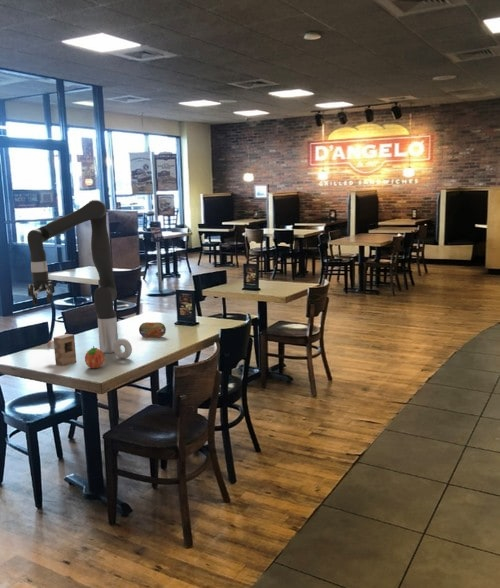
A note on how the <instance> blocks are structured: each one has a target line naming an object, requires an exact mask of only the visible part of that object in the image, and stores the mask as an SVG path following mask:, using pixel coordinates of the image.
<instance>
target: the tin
mask: <svg viewBox="0 0 500 588" xmlns="http://www.w3.org/2000/svg"><path fill="white" fill-rule="evenodd" d="M138 331H139V335H141V337H143V338H147V339H150V338H151V339H159V338H162V337H163V336H165V334H166V332H167V329H166V326H165V324H164V323H162V322H159V321H158V322H154V321H153V322H148V321H147V322H143V323H141V324H140V325H139V328H138Z"/></svg>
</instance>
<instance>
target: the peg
mask: <svg viewBox="0 0 500 588" xmlns="http://www.w3.org/2000/svg"><path fill="white" fill-rule="evenodd" d="M46 346H47V349H49V350H54V340H49V341H48V342H47V344H46ZM64 347H65V350H66V349H67V343H64Z"/></svg>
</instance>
